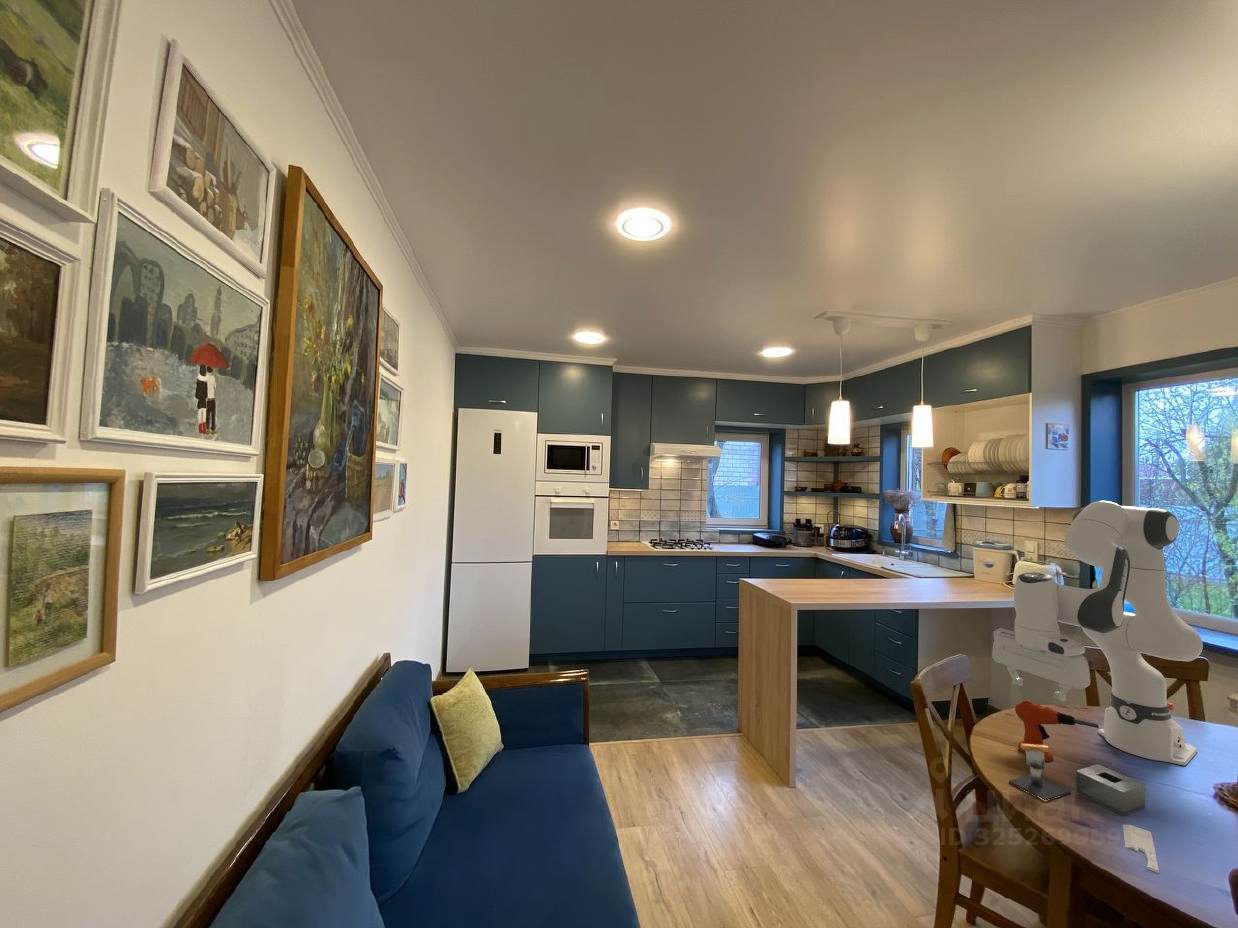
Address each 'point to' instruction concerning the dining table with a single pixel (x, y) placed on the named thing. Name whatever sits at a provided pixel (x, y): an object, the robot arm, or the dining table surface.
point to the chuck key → (1035, 761)
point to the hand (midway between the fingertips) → (1038, 692)
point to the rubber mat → (1045, 792)
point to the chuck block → (1110, 789)
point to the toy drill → (1042, 715)
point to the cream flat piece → (1141, 844)
